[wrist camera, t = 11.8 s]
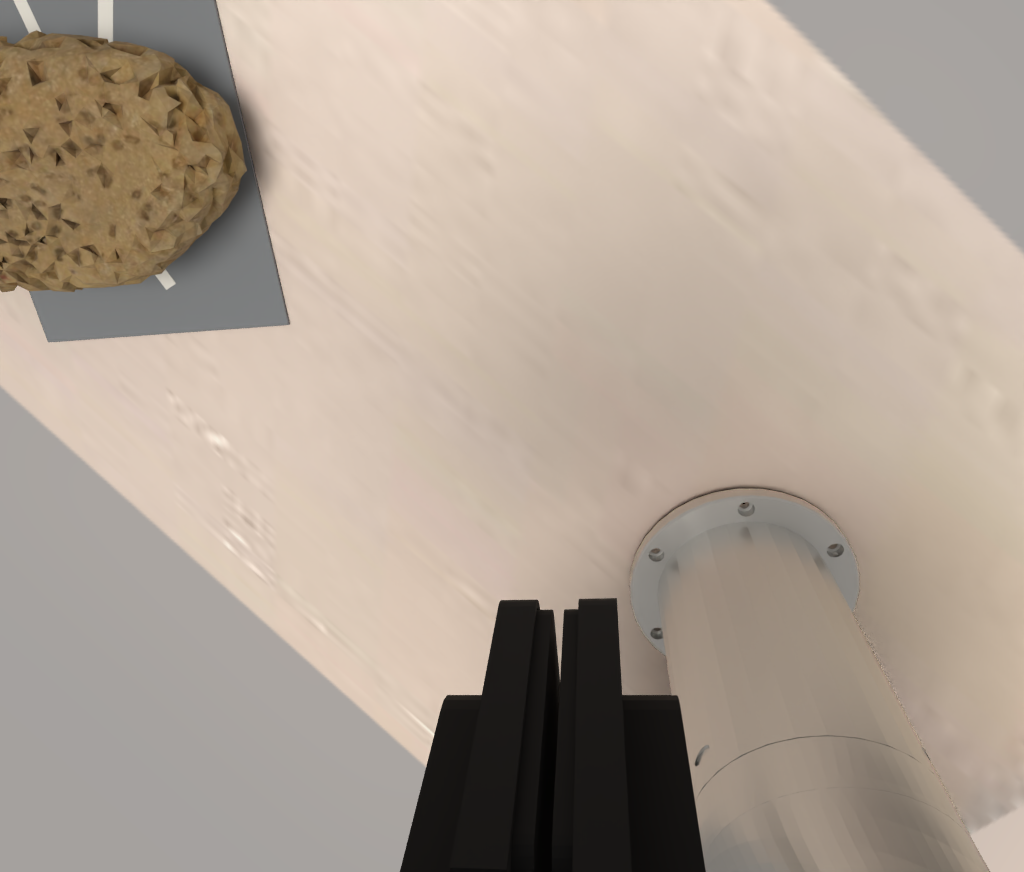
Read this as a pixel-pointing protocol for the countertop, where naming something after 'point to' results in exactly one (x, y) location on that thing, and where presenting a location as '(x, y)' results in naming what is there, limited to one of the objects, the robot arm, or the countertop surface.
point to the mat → (230, 238)
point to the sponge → (105, 162)
